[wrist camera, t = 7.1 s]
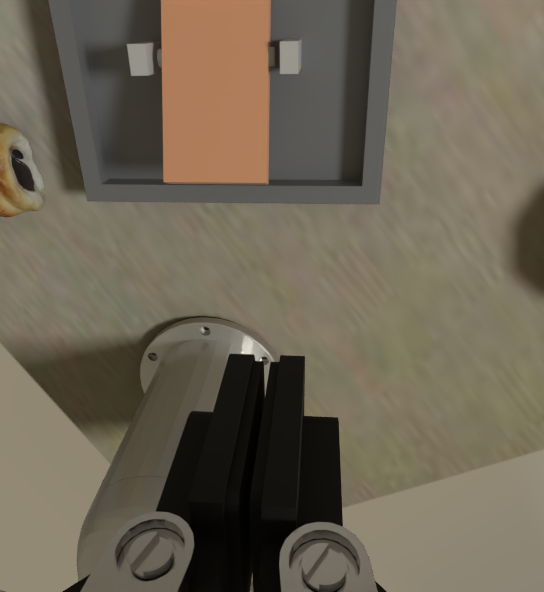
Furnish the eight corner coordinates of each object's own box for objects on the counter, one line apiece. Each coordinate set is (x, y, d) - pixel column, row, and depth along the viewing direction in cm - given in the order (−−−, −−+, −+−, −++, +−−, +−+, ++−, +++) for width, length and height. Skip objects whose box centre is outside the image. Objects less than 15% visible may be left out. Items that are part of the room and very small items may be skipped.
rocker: (273, 184, 30) (271, 182, 29) (164, 183, 31) (157, 181, 29) (277, -73, 28) (275, -89, 27) (161, -69, 29) (152, -84, 27)
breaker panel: (375, 191, 36) (383, 218, 31) (103, 188, 38) (70, 214, 33) (401, -132, 28) (418, -166, 23) (49, -116, 29) (-7, -145, 24)
